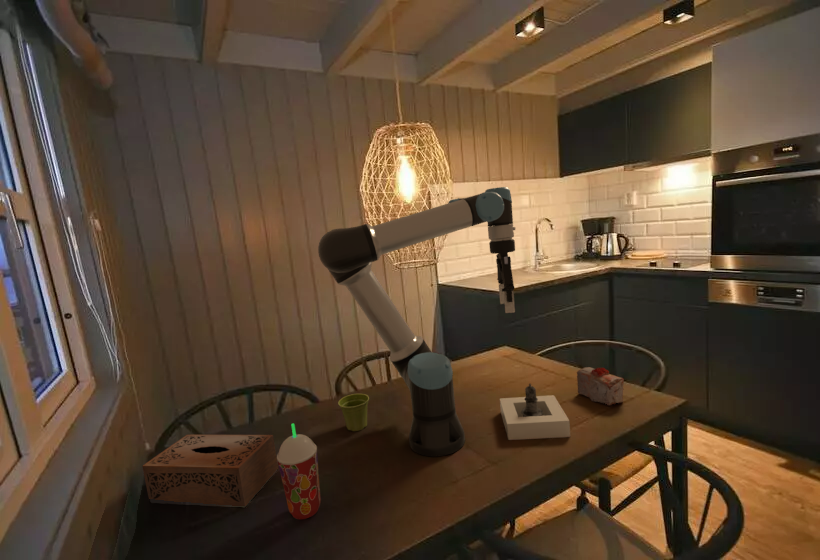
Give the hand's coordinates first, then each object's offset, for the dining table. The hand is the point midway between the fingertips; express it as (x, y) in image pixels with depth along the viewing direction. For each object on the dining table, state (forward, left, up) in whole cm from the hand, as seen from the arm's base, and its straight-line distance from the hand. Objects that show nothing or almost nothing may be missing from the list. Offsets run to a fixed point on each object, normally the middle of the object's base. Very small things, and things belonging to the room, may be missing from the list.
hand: (507, 307), depth 126 cm
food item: (+26, -1, -31) cm, 41 cm away
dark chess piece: (+3, -15, -31) cm, 34 cm away
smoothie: (-52, -48, -31) cm, 77 cm away
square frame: (+3, -15, -31) cm, 34 cm away
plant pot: (-49, -11, -31) cm, 59 cm away
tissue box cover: (-79, -38, -31) cm, 93 cm away
